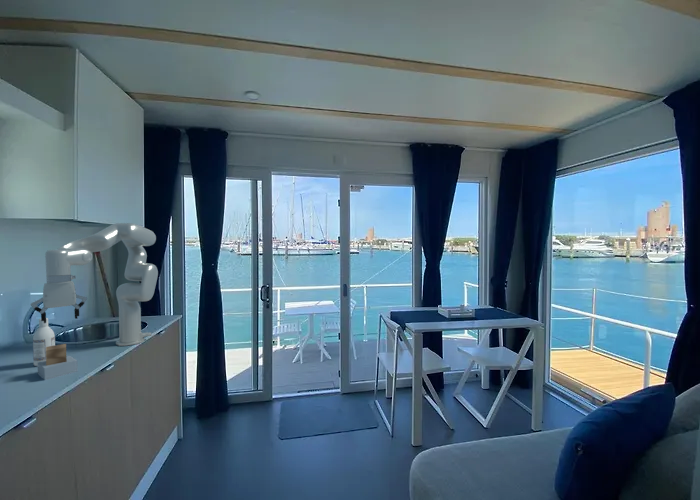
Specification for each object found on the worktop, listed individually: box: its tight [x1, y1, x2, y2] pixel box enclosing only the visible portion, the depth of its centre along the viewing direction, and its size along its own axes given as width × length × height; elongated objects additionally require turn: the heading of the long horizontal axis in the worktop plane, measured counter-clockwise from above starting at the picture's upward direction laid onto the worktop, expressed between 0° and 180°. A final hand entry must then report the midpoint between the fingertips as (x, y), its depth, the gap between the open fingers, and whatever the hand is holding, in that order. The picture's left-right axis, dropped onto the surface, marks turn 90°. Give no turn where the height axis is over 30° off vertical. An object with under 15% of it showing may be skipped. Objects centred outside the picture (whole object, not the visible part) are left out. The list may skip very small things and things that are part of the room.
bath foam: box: [32, 317, 56, 367], centre depth 141 cm, size 7×7×20 cm
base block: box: [37, 355, 79, 381], centre depth 131 cm, size 10×10×5 cm
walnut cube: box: [46, 343, 67, 366], centre depth 131 cm, size 6×6×6 cm
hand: (60, 320), depth 133 cm, fingers open, 9 cm apart
